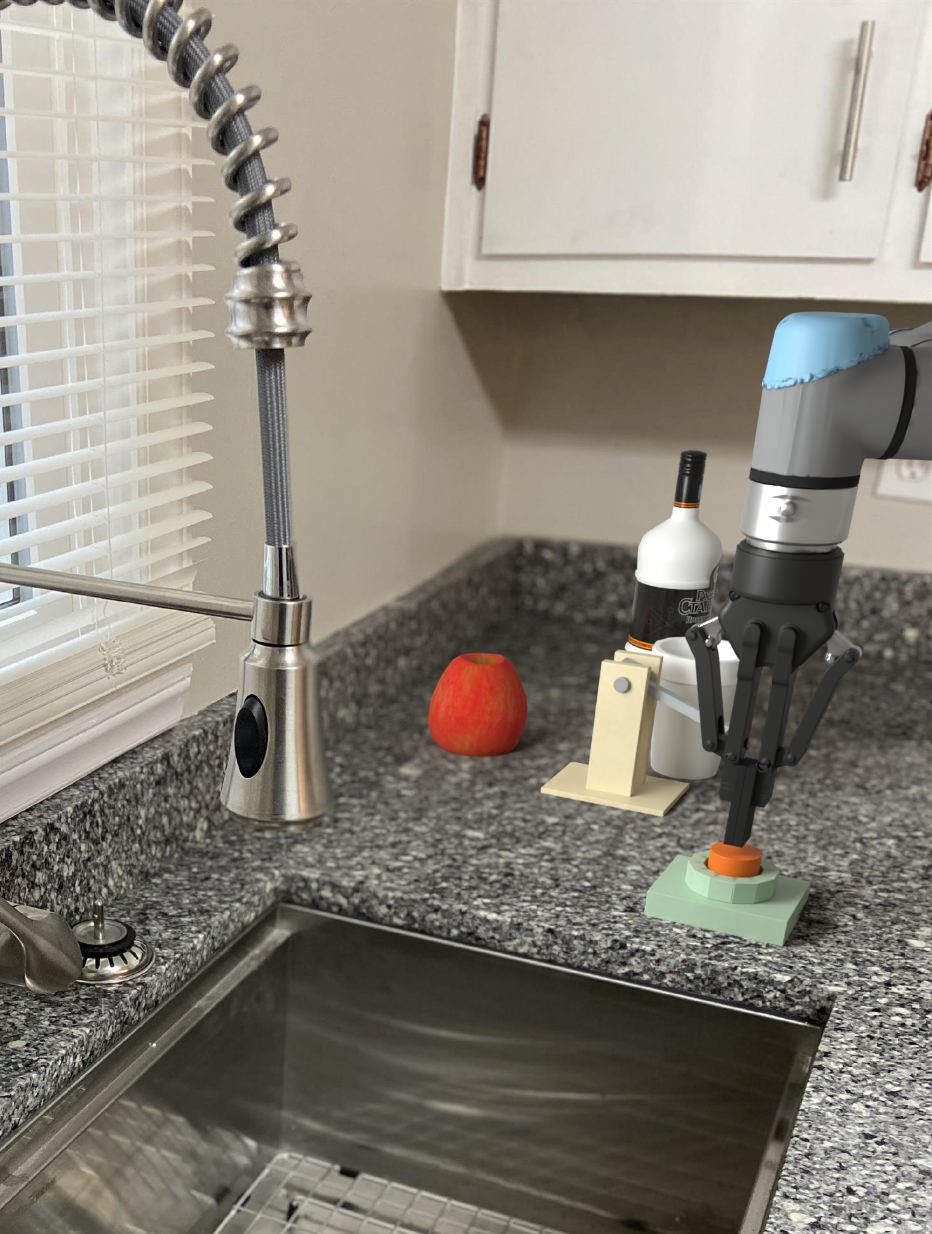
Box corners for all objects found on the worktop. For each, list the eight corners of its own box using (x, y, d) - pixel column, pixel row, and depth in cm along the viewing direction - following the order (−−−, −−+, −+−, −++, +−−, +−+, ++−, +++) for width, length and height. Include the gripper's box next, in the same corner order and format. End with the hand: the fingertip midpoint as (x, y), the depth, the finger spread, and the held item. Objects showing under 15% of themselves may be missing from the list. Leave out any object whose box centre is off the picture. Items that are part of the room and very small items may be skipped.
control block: (806, 905, 123) (815, 861, 121) (782, 947, 116) (791, 900, 114) (674, 877, 128) (681, 834, 126) (643, 915, 121) (650, 870, 119)
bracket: (687, 794, 146) (709, 657, 140) (661, 823, 139) (683, 680, 133) (570, 772, 152) (586, 639, 146) (539, 799, 145) (555, 660, 139)
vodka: (628, 719, 168) (666, 441, 154) (709, 735, 163) (756, 449, 149) (595, 740, 161) (632, 451, 147) (678, 757, 156) (724, 460, 142)
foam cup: (743, 791, 147) (766, 662, 141) (649, 790, 147) (669, 662, 141) (713, 759, 156) (734, 637, 150) (625, 758, 156) (643, 636, 150)
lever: (743, 741, 140) (756, 719, 138) (728, 757, 135) (742, 735, 134) (620, 674, 143) (631, 652, 142) (602, 688, 139) (614, 666, 138)
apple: (498, 731, 164) (507, 637, 159) (540, 761, 155) (551, 662, 150) (412, 738, 161) (418, 642, 156) (449, 769, 152) (457, 669, 148)
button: (763, 867, 121) (767, 847, 120) (752, 884, 118) (755, 864, 117) (714, 857, 123) (717, 837, 122) (701, 873, 120) (704, 853, 119)
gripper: (688, 540, 109) (643, 838, 119) (876, 561, 103) (811, 873, 113) (714, 524, 115) (669, 810, 125) (894, 543, 109) (830, 842, 119)
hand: (736, 840), depth 119 cm, fingers closed
